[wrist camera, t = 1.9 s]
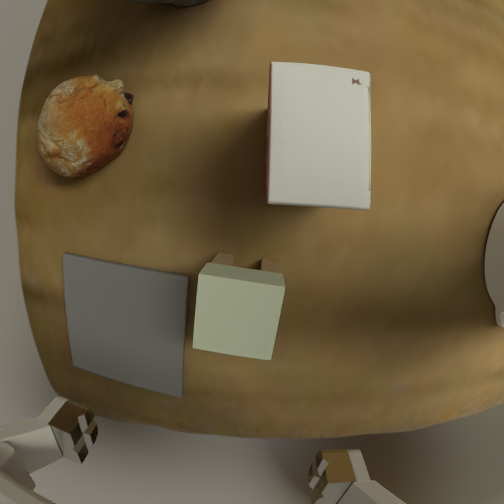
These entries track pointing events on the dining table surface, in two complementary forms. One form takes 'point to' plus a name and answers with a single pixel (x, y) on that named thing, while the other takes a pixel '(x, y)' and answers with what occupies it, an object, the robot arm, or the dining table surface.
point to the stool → (238, 308)
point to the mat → (126, 322)
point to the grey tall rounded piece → (176, 0)
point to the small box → (318, 136)
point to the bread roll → (84, 125)
